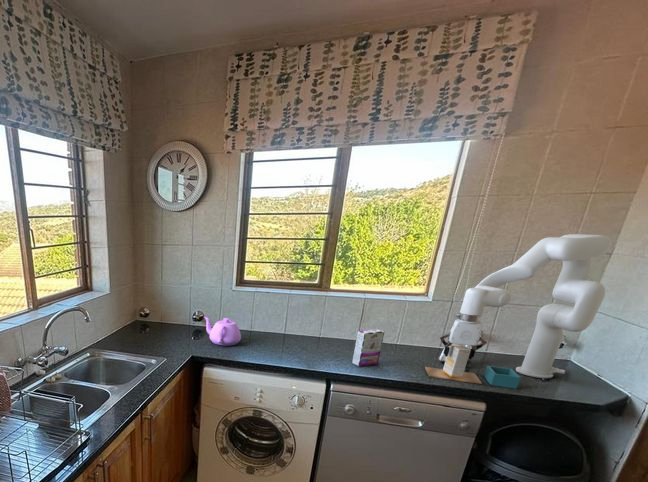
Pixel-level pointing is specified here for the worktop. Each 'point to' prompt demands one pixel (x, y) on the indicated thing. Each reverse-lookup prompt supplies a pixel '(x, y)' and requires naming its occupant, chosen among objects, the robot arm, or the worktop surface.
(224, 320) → the teapot
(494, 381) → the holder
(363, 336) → the candy bar box
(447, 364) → the supplement box
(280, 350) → the worktop surface
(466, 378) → the cork mat
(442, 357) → the shaker set
